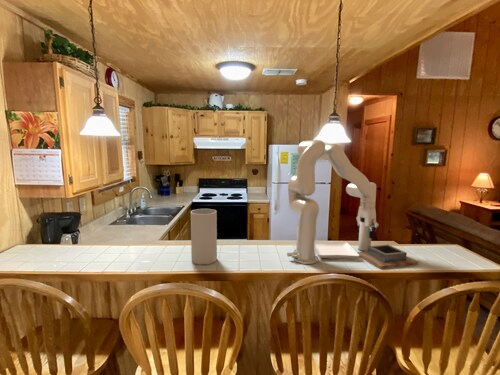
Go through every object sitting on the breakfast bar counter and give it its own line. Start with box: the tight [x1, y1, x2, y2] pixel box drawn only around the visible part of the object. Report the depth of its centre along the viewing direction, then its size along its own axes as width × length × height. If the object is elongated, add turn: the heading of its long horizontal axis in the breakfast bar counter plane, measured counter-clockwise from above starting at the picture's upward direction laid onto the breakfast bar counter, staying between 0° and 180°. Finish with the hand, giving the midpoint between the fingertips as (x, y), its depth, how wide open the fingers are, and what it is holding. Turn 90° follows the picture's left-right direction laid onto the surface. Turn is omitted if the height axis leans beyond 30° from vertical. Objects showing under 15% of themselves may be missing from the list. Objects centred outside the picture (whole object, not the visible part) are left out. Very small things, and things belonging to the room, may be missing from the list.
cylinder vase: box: [190, 208, 218, 265], centre depth 135 cm, size 12×12×25 cm
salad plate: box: [315, 240, 360, 260], centre depth 148 cm, size 21×21×3 cm
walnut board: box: [356, 251, 419, 270], centre depth 139 cm, size 22×18×2 cm
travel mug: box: [357, 217, 372, 252], centre depth 151 cm, size 6×7×20 cm
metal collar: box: [367, 244, 407, 263], centre depth 139 cm, size 12×12×4 cm
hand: (366, 235), depth 151 cm, fingers open, 9 cm apart
